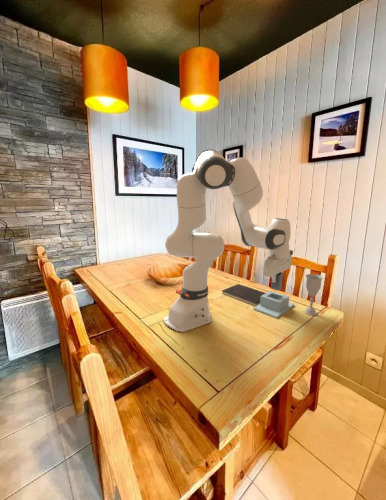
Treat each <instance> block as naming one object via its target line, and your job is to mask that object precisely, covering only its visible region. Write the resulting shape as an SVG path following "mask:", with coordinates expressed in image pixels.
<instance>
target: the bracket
mask: <svg viewBox="0 0 386 500" xmlns="http://www.w3.org/2000/svg"><path fill="white" fill-rule="evenodd" d="M283 276H284V272H283V273H278V274H276V279H277V282H275V283H274V282H272V278H271V277H270V278H271V282H270V283H271V284H270V289H272V290H275V291H281V290H282V287H283V279H284V278H283Z"/></svg>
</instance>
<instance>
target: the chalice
mask: <svg viewBox="0 0 386 500" xmlns="http://www.w3.org/2000/svg"><path fill="white" fill-rule="evenodd" d="M305 277H306V282H305V287H306V290H307V292H308V295H309V296H310V299H309V300H310V302H309V306H308V307H306V308H305V310H304V313H305V314H306V315H308V316H316V315H317V311H316V309H315V308H314V307H313V305H314V297H315V296H317V295H318V294H319V293H318V292H319V291H320V290H321V287H322V279H324V276H323V275H319V274H316V273H313V274H312V273H308V274H306V275H305Z"/></svg>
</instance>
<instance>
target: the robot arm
mask: <svg viewBox="0 0 386 500" xmlns="http://www.w3.org/2000/svg"><path fill="white" fill-rule="evenodd" d="M259 179H260V178H259V177H258V174H257V173H256V171H255V169H254V167H253V166H252V164H251V162H250V161H249V160H248V159H247V158H245V157H236V158H233V159H232V160H229V161H228V160H226V159H225V158H224V156H223V155H222V154H221V153H220V152H219V151H217V150H215V149H205V150H203V151H202V152H201V153H199V154H198V156H197V158H196V160H195V162H194V165H193V166H192V167H191V172H189V173H184V174H183V175H181V176H179V178H178V179H177V183H176V184H177V185H176V202H177V203H176V204H177V213H178V218H177V219H178V221H177V225H176V227H175V229H174V230H173V232H172V233H169V235H168V236H167V238H166V239H165V250H166V252H167V254H168V255H170V256H173V257H178V258H195V262H192V263H190V264H189V265H187V266H185V268H184V269H183V270H182V287H181V289H180V288H177V289H175V294H177V295H179V297H177V299H176V300H175V301H174V303H172V305H171V306H170V307H169V309H168V315H167V316H165V317H163V323H164V325H166V326H167V327H168V326H169V327H170V328H169V327H168V328H169V329H171V328H172V329H171V330H173V329H174V330H173V331H175V330H176V332H179V331H180V332H179V333H184V332H188V331H191V330H193V329H196V328H199V327H201V326H204V325H207V324H210V323H212V318H211V317H212V314H211V311H210V306H209V305H210V304H209V303H210V302H209V297H208V296H209V286H208V274H209V270H210V267H211V265H212V263H213V262H214V261H215V260H216V259H218V258H219V257H220V256H222V254H223V252H224V250H225V240H224V239H223V237H222V236H221V235H220V234H219V233H214V232H194V230H197V229H198V228H200V227H202V226H203V225H204V224H205V222H206V220H207V209H206V205H207V204H206V191H207V189H210V190H219V189H222V188H225V187H228V188H229V190H230V193H231V195H232V198H233V200H234V201H233V204H232V206H233V211H234V214H235V217H236V220H237V221H236V222H237V224H238V227H239V230H240V236H241V241H242V243H243V244H244V245H245V246H246V247H254V248H259V249H264V250H268V256H267V258H266V259H265V260H264V264H263V269H262V274H263V276H265V277H269V278H272V282H274V283H275V282H277V279H276V274H278V273H283V274H284V272H285V271H286V270H288V269H290V268H291V265H292V259H293V255H294V250H293V249H290V240H291V222H290V220H289V219H286V218H280V217H279V218H278V217H276V218H272V220H271V222H270V224H268V225H266V226H261V225H256V224H255V223H253V221H252V218H251V213H250V210H252V209H253V208H256V206H257V205H258V204H259V203H260V202H261V200H262V198H263V195H264V192H263V186H262V184H261V182H260V180H259Z"/></svg>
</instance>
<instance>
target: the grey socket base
mask: <svg viewBox="0 0 386 500" xmlns="http://www.w3.org/2000/svg"><path fill="white" fill-rule="evenodd" d="M265 293H266V294H264V295H262V296H261V298H260V304H259V305H257V306H254V307H253V310H254V311H256V312H258V313H260V314H261V313H262V314H264V315H266V316H269V317H272V318H274V319H279V318H280V317H281V316H282V315H284V314H285V313H286V312H288V311H289V310H290V309H292V308H293V307H294V306H295V303H293V302H290V296H289V295H286V294H282V293H279V292H275V291H271V290H270V291H268V292H265Z"/></svg>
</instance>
